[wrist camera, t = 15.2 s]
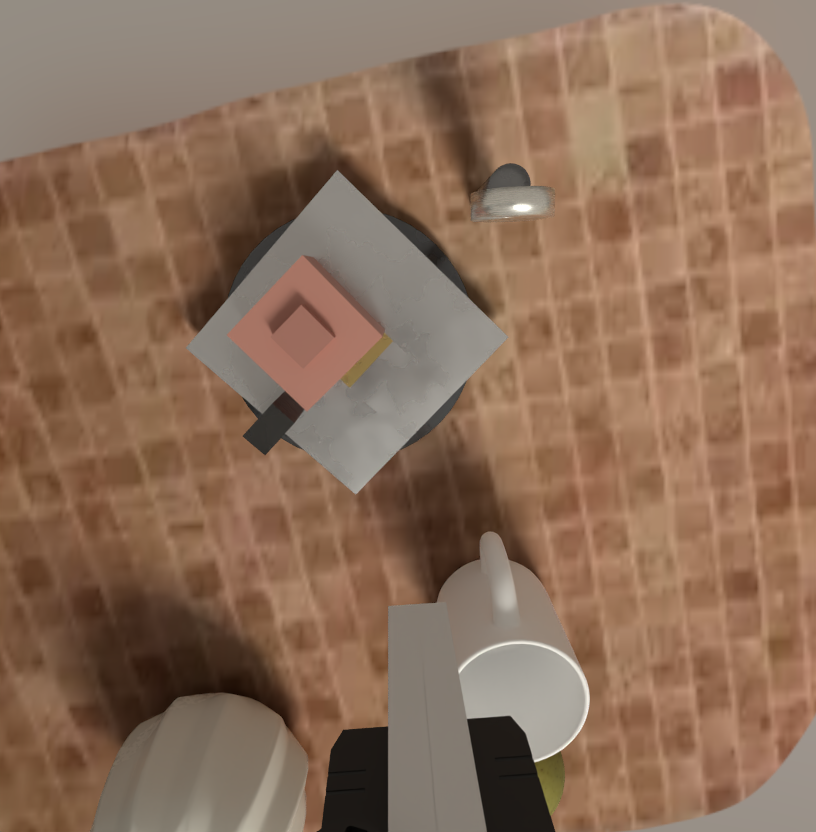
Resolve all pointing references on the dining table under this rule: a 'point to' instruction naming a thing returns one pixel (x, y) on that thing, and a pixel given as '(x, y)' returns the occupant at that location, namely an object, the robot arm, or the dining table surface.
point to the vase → (207, 771)
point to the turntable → (383, 364)
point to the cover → (306, 331)
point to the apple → (551, 779)
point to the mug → (514, 650)
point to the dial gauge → (511, 198)
